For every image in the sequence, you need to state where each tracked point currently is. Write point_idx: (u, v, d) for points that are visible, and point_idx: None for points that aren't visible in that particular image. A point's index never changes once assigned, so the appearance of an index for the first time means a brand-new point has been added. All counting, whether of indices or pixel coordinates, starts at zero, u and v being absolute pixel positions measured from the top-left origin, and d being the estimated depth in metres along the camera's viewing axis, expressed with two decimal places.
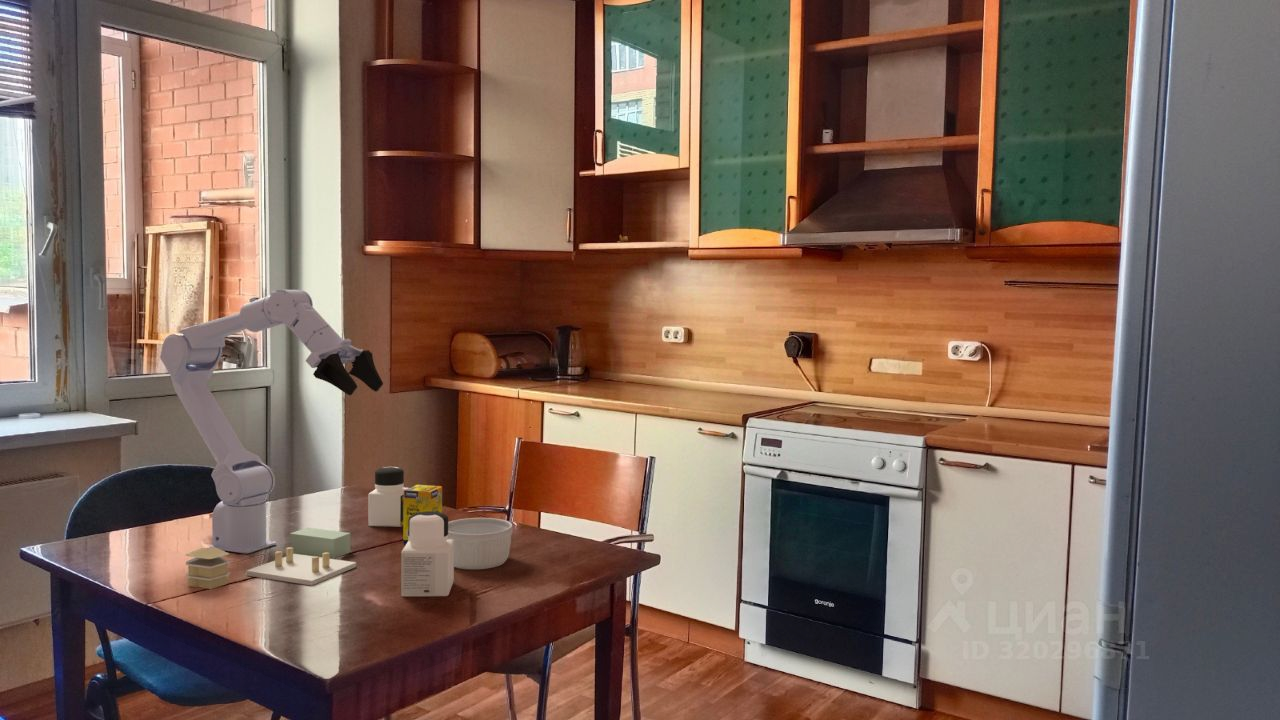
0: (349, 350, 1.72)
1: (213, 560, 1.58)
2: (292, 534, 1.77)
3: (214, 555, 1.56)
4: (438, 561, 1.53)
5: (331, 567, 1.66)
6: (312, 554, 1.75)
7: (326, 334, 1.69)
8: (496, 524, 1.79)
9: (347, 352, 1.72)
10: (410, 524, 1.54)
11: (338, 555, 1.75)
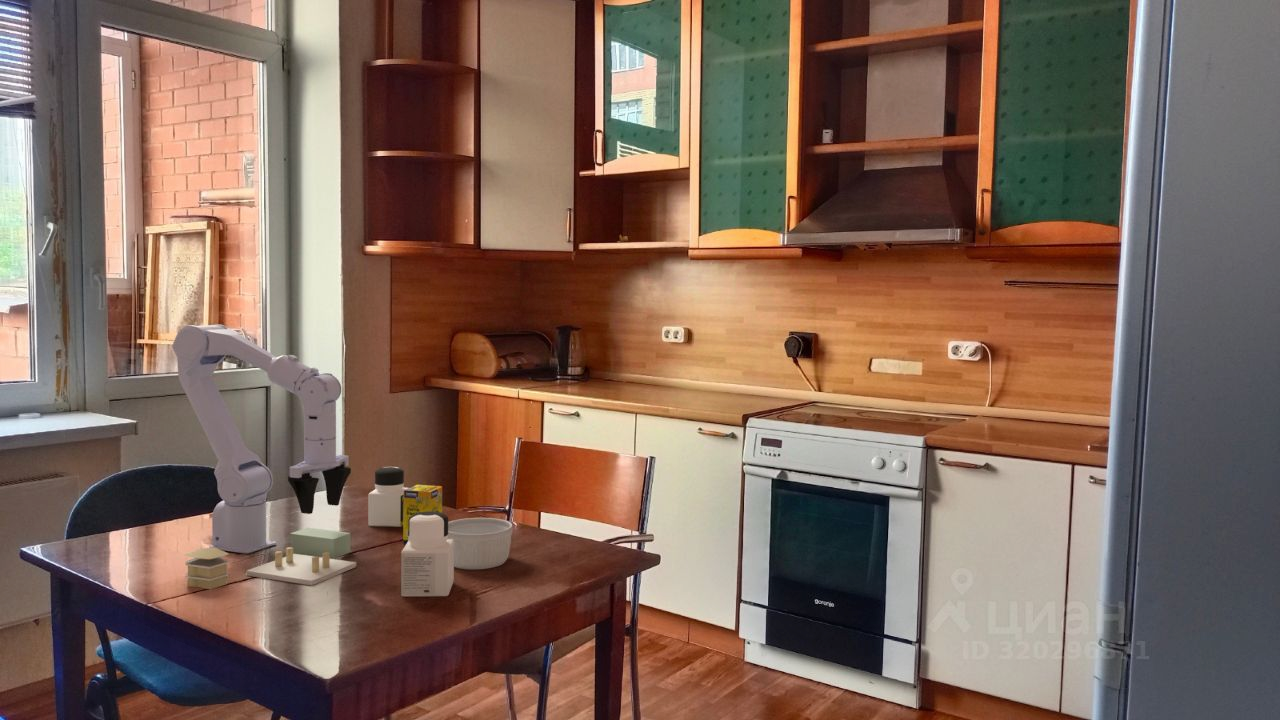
0: None
1: (213, 560, 1.58)
2: (292, 534, 1.77)
3: (214, 555, 1.56)
4: (438, 561, 1.53)
5: (331, 567, 1.66)
6: (312, 554, 1.75)
7: (325, 447, 1.74)
8: (496, 524, 1.79)
9: None
10: (410, 524, 1.54)
11: (338, 555, 1.75)
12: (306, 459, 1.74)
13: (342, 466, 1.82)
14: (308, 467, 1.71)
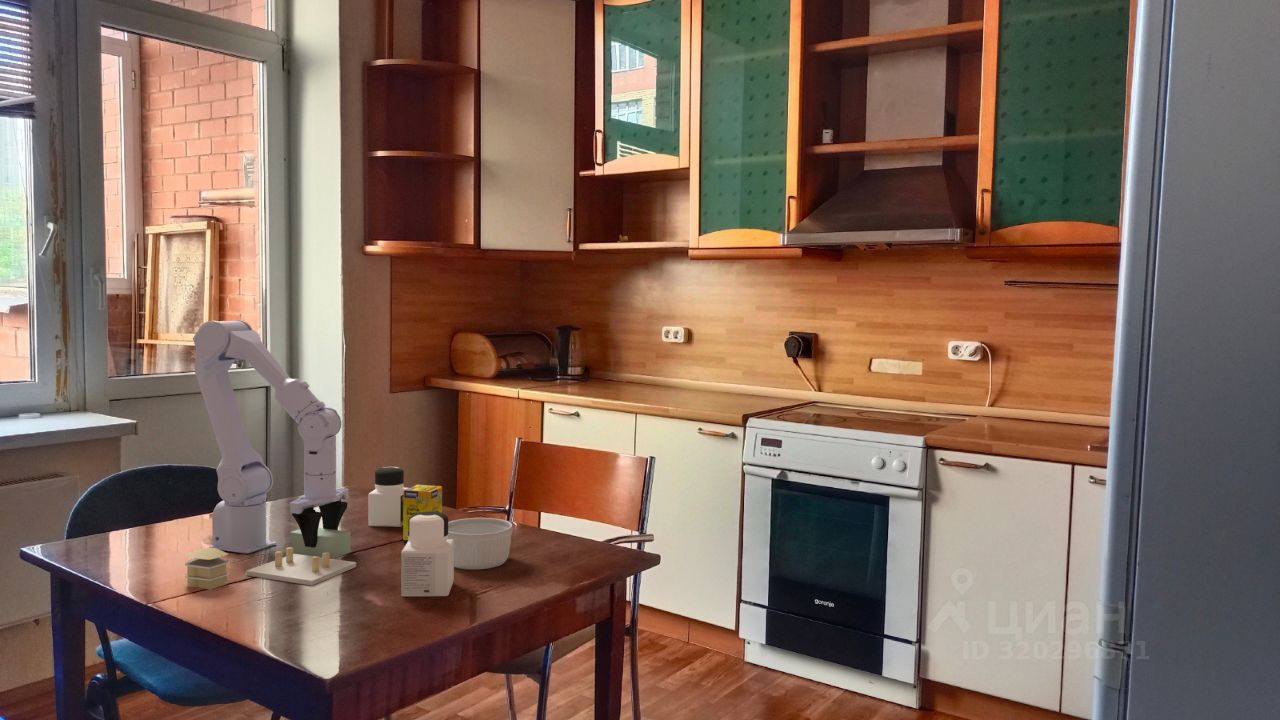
0: None
1: (212, 560, 1.57)
2: (292, 533, 1.77)
3: (213, 555, 1.56)
4: (438, 561, 1.53)
5: (331, 567, 1.66)
6: (312, 553, 1.75)
7: (325, 482, 1.75)
8: (496, 524, 1.79)
9: None
10: (410, 524, 1.54)
11: (338, 554, 1.75)
12: (306, 494, 1.75)
13: None
14: (308, 502, 1.72)
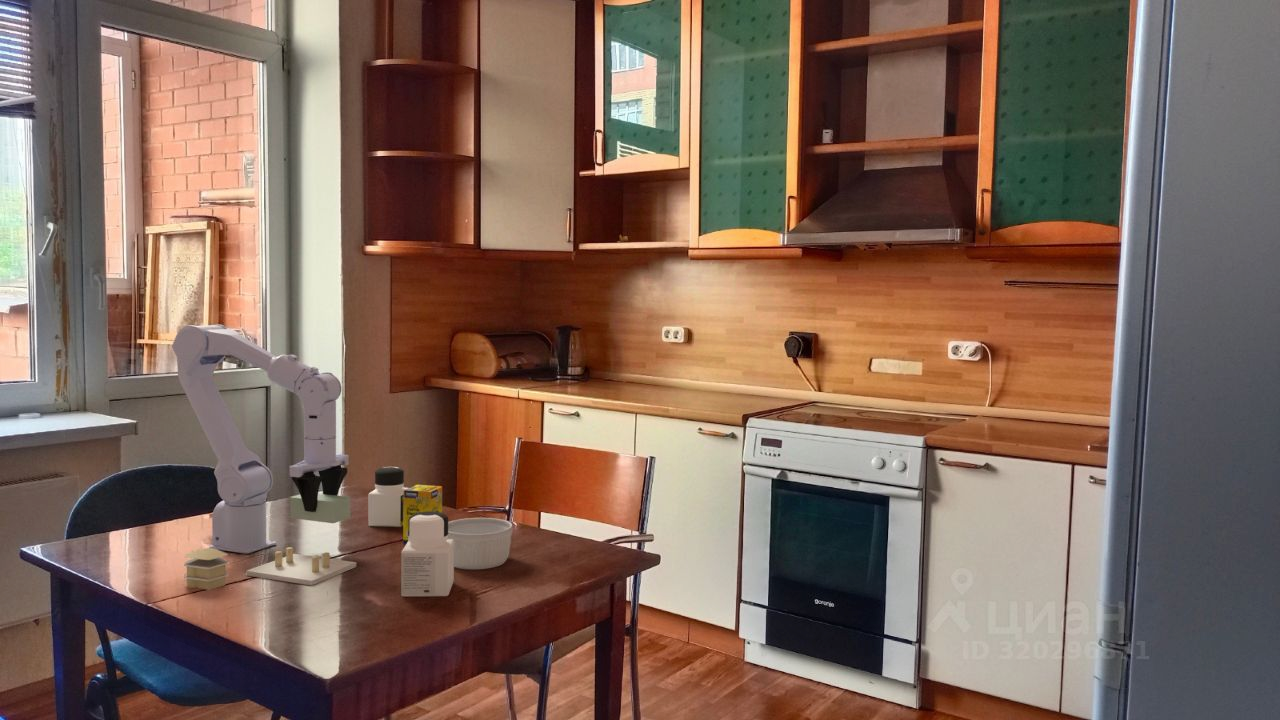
0: None
1: (211, 561, 1.57)
2: (292, 498, 1.76)
3: (213, 556, 1.56)
4: (438, 561, 1.53)
5: (331, 567, 1.66)
6: (312, 517, 1.75)
7: (325, 447, 1.74)
8: (496, 524, 1.79)
9: None
10: (410, 524, 1.54)
11: (338, 518, 1.75)
12: (306, 458, 1.74)
13: None
14: (308, 466, 1.71)
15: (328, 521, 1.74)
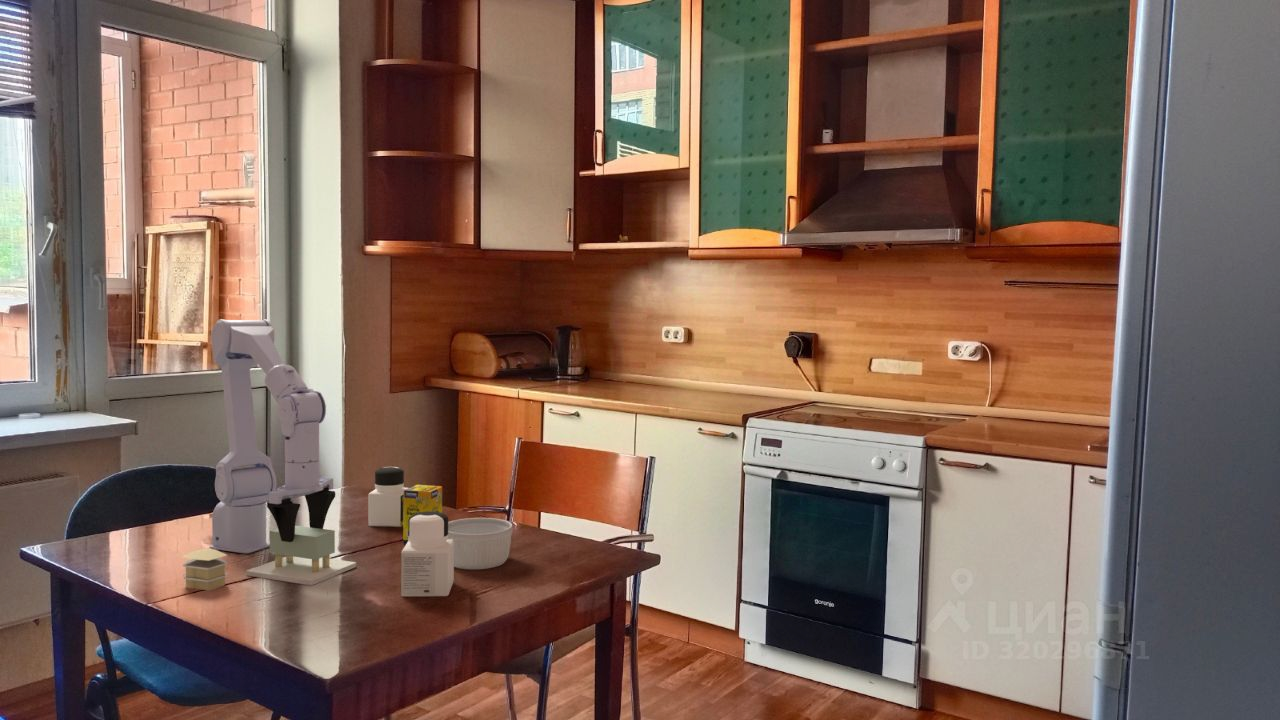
0: None
1: (211, 561, 1.57)
2: (272, 532, 1.64)
3: (212, 556, 1.55)
4: (438, 561, 1.53)
5: (331, 567, 1.66)
6: (293, 553, 1.63)
7: (307, 471, 1.62)
8: (496, 524, 1.79)
9: None
10: (410, 524, 1.54)
11: (321, 554, 1.63)
12: (287, 483, 1.63)
13: (326, 489, 1.70)
14: (288, 492, 1.60)
15: (310, 557, 1.62)
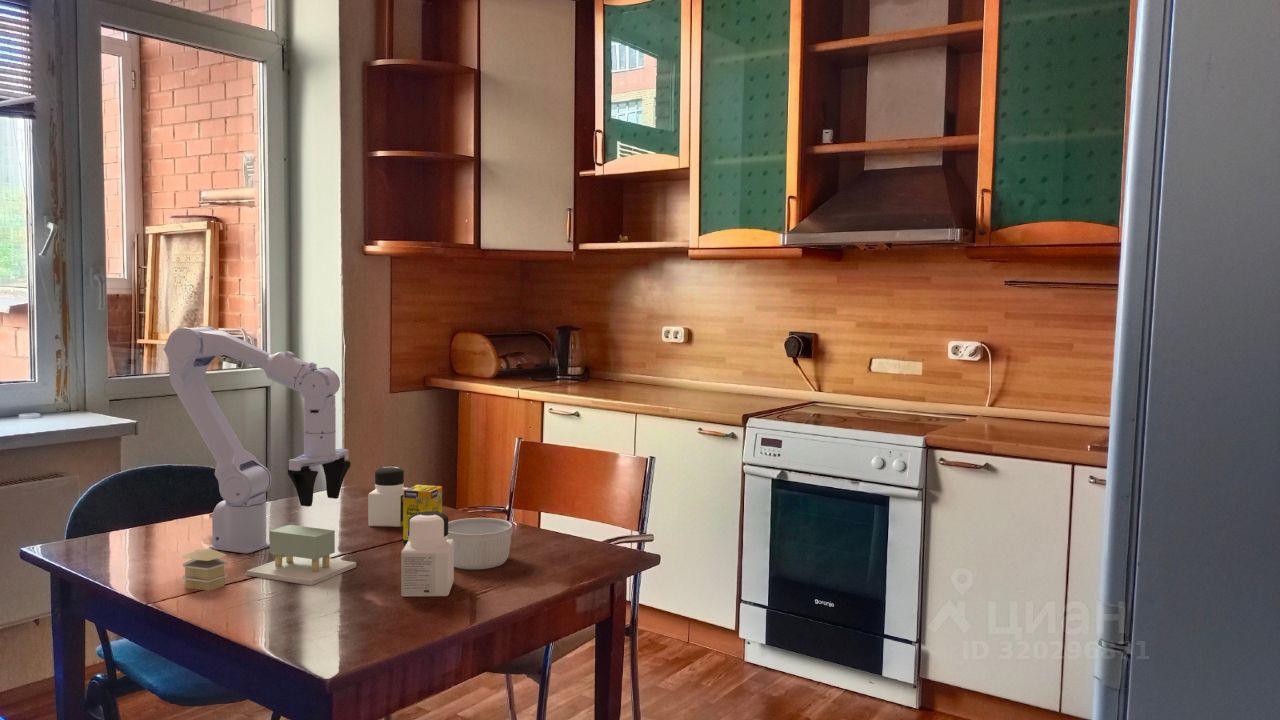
0: None
1: (210, 562, 1.57)
2: (272, 532, 1.64)
3: (211, 557, 1.55)
4: (438, 561, 1.53)
5: (331, 567, 1.66)
6: (293, 553, 1.63)
7: (324, 441, 1.76)
8: (496, 524, 1.79)
9: None
10: (410, 524, 1.54)
11: (321, 554, 1.63)
12: (306, 452, 1.76)
13: (342, 460, 1.83)
14: (307, 460, 1.73)
15: (310, 557, 1.62)
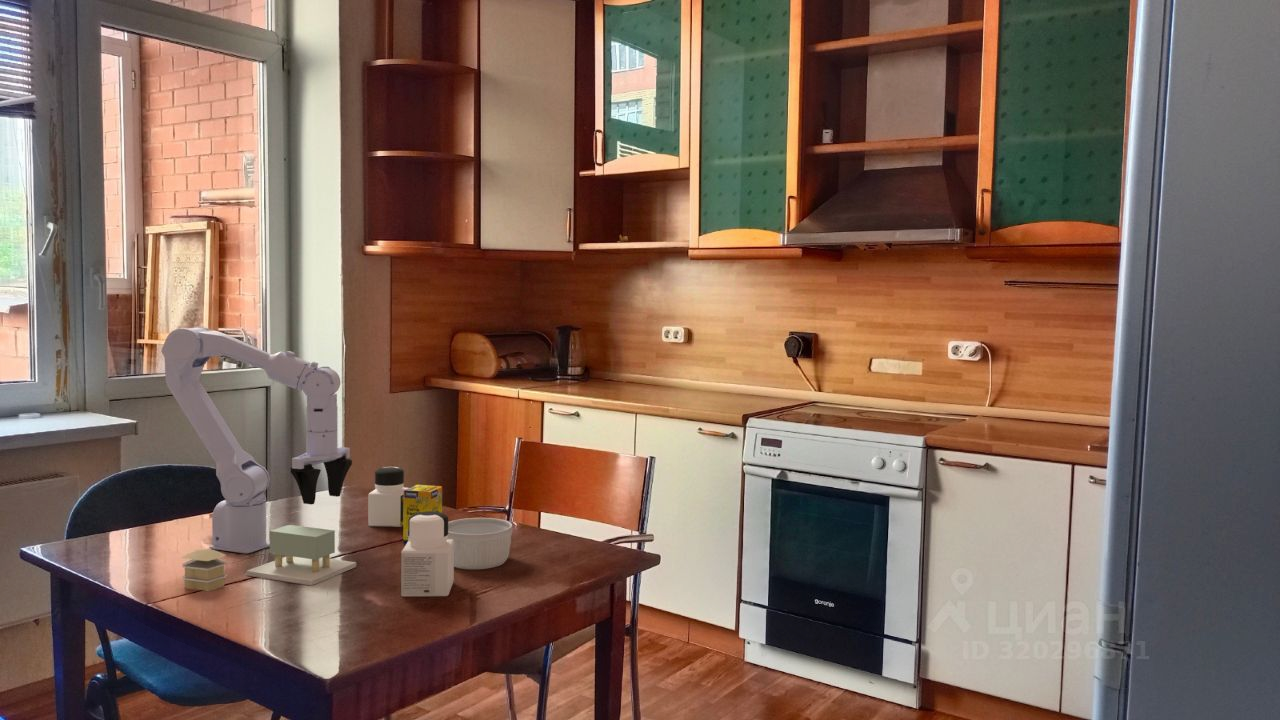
0: None
1: (210, 562, 1.57)
2: (272, 532, 1.64)
3: (211, 557, 1.55)
4: (438, 561, 1.53)
5: (331, 567, 1.66)
6: (293, 553, 1.63)
7: (326, 439, 1.78)
8: (496, 524, 1.79)
9: None
10: (410, 524, 1.54)
11: (321, 554, 1.63)
12: (308, 451, 1.78)
13: (343, 458, 1.85)
14: (310, 458, 1.75)
15: (310, 557, 1.62)
